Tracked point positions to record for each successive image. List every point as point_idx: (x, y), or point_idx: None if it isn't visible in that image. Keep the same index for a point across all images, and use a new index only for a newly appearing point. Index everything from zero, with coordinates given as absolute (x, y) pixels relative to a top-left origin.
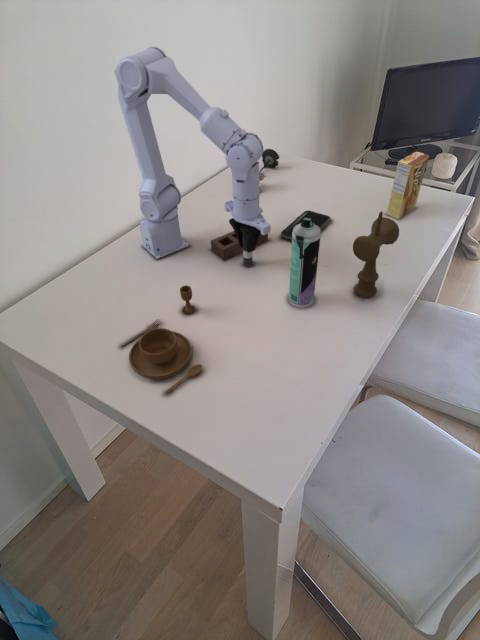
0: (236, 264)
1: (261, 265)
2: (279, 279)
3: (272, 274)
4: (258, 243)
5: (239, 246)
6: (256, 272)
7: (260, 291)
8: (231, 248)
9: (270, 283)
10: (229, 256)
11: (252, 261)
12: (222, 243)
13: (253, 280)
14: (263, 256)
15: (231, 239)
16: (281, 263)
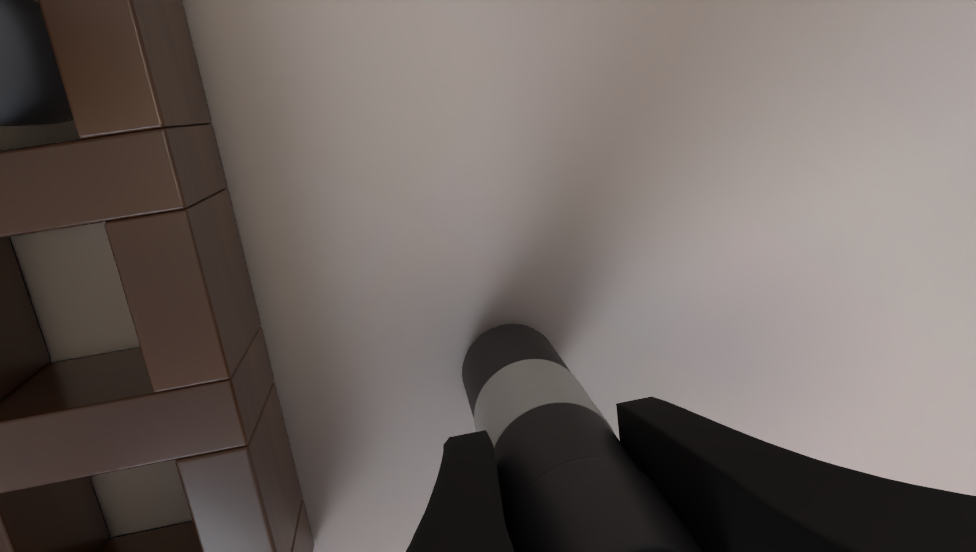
0: None
1: (595, 251)
2: (876, 211)
3: (779, 229)
4: (193, 66)
5: (251, 392)
6: (664, 349)
7: (896, 436)
8: (276, 515)
9: (869, 313)
10: (297, 490)
11: (542, 338)
12: (58, 530)
13: (746, 424)
14: (461, 146)
15: (94, 471)
16: (685, 39)
